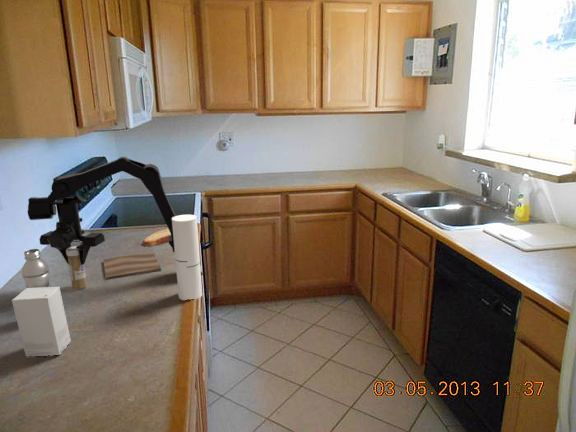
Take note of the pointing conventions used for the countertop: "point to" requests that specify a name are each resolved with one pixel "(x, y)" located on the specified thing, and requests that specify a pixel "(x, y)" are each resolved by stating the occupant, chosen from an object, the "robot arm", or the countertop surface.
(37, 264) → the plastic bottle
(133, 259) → the walnut board
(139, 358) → the countertop surface
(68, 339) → the skincare box
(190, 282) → the cylindrical container
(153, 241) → the slice of bread
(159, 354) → the countertop surface
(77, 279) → the sprinkles bottle
